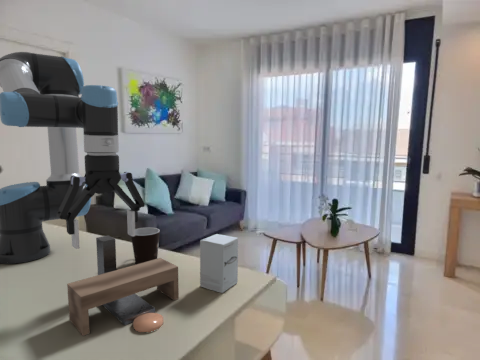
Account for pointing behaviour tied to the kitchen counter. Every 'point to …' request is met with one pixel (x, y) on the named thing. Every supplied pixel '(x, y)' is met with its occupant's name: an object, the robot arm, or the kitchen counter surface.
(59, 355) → the kitchen counter surface
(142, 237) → the coffee mug
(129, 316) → the dark gray angled bracket
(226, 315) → the kitchen counter surface
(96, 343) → the kitchen counter surface
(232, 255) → the supplement box
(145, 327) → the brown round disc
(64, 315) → the kitchen counter surface
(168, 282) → the bench
